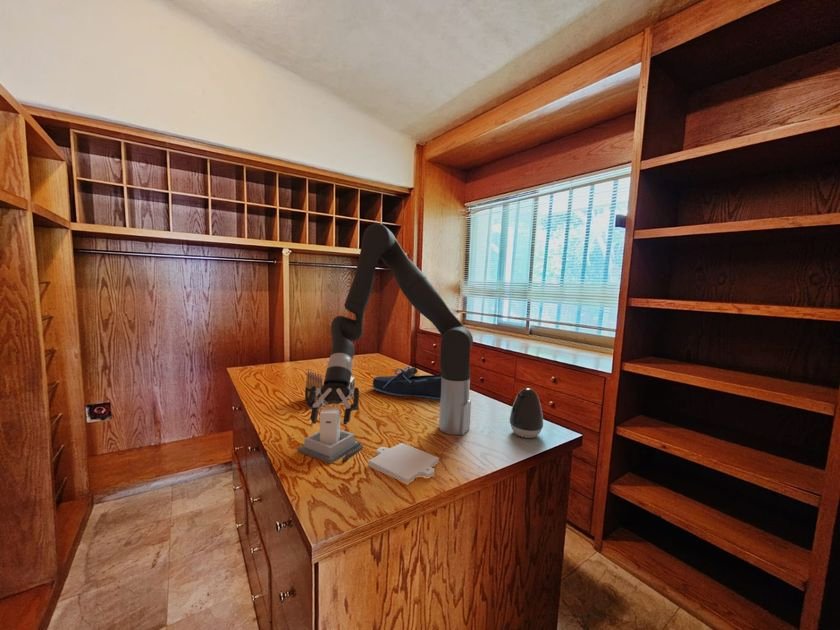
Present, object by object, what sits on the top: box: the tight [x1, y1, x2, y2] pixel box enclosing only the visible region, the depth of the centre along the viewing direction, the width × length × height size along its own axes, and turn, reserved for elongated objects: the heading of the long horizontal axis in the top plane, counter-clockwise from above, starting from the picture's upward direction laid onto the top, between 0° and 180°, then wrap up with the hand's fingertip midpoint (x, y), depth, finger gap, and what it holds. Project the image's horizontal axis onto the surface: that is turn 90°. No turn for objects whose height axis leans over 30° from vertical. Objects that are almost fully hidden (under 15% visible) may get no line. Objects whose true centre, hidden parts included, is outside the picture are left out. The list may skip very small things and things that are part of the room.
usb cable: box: [342, 444, 364, 462], centre depth 93 cm, size 9×1×1 cm, turn 156°
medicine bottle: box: [346, 372, 356, 400], centre depth 139 cm, size 7×7×12 cm
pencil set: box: [304, 369, 324, 403], centre depth 130 cm, size 11×2×12 cm, turn 48°
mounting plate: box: [368, 442, 440, 484], centre depth 89 cm, size 18×13×2 cm
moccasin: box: [372, 365, 441, 400], centre depth 146 cm, size 14×34×12 cm, turn 84°
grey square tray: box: [297, 429, 362, 465], centre depth 96 cm, size 12×12×4 cm
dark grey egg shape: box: [509, 387, 544, 439], centre depth 109 cm, size 10×10×15 cm
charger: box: [319, 406, 341, 446], centre depth 96 cm, size 4×5×10 cm
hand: (329, 423), depth 95 cm, fingers open, 8 cm apart
